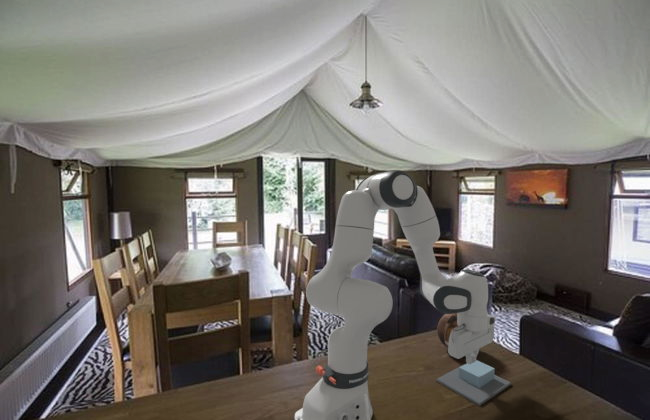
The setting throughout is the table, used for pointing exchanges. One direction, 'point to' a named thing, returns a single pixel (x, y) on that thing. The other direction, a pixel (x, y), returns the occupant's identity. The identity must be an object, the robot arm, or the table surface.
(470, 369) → the block
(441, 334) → the wooden sphere
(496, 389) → the mat
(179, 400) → the table surface
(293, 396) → the table surface
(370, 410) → the robot arm
